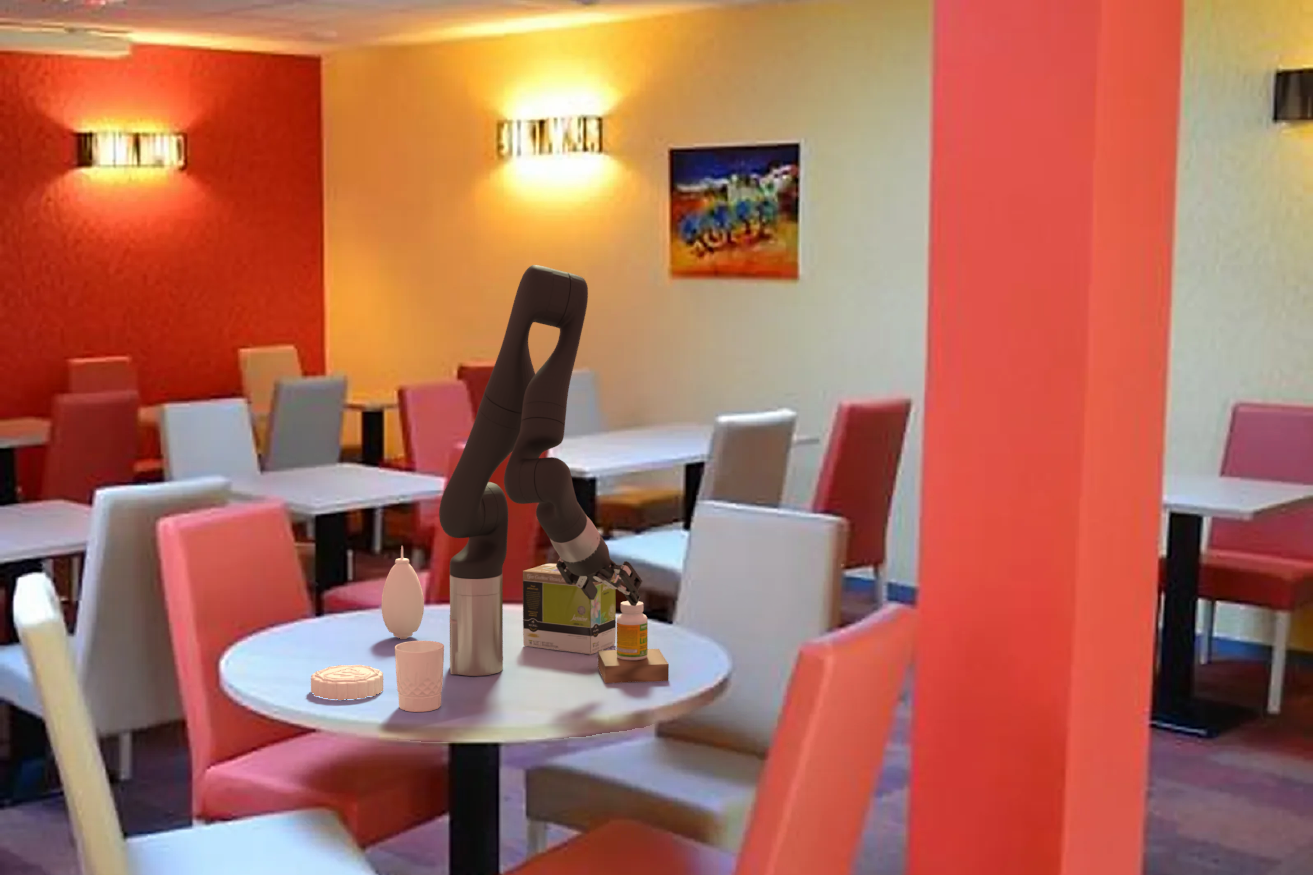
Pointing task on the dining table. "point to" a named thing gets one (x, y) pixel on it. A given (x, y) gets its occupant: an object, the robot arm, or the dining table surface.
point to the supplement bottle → (632, 632)
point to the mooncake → (347, 682)
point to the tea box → (566, 613)
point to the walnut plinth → (633, 667)
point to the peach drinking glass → (419, 675)
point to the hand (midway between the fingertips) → (614, 598)
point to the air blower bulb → (402, 599)
